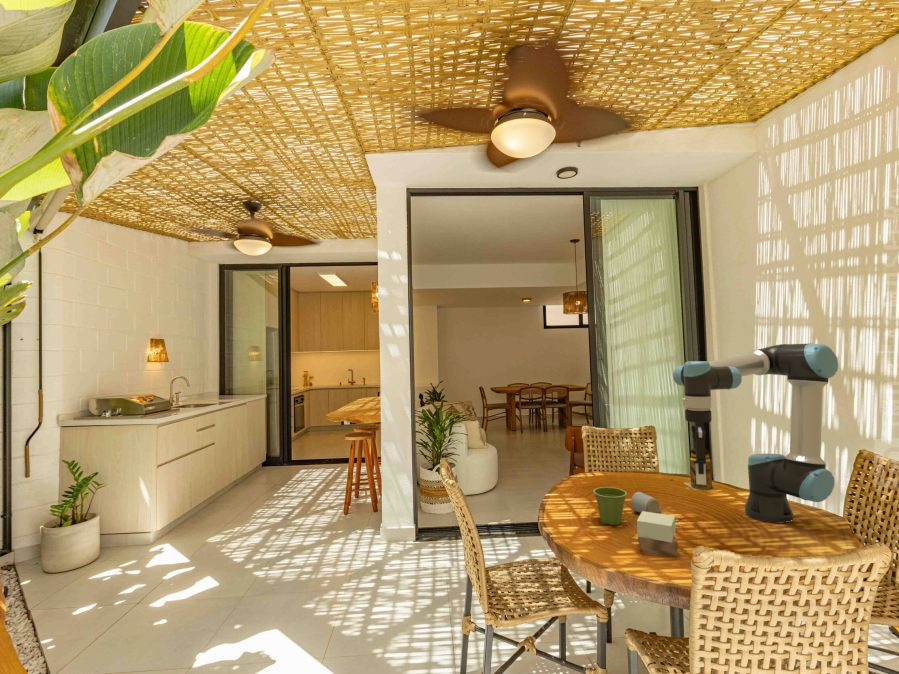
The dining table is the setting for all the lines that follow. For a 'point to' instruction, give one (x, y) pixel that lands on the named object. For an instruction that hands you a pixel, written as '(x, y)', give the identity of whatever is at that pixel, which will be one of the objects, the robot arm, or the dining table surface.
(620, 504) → the plant pot
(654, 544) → the walnut block
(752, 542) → the dining table surface
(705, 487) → the condiment
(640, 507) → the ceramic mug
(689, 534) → the dining table surface
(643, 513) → the sage block
